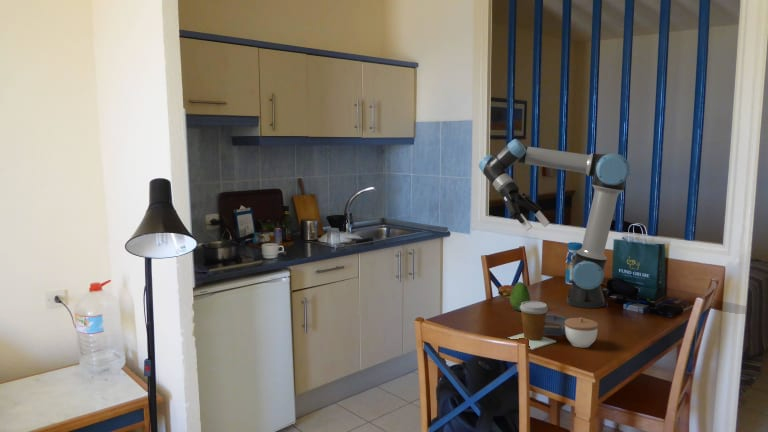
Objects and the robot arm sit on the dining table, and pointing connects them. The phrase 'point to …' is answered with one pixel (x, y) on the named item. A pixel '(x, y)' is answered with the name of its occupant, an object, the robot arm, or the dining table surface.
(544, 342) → the sage mat
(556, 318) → the grey shallow tray
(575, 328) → the lidded jar
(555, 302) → the dining table surface
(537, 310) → the disposable coffee cup
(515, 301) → the avocado
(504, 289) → the burger
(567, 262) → the beverage bottle
